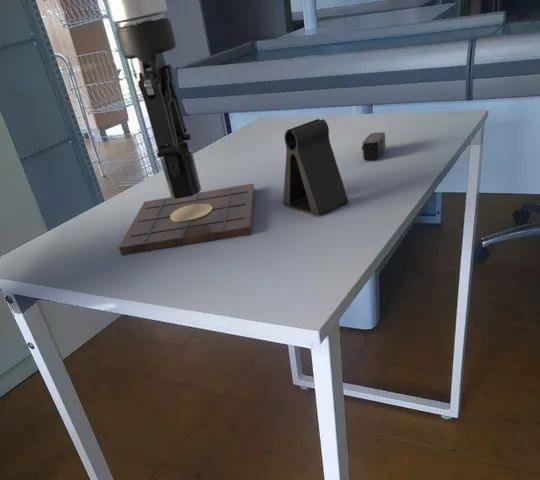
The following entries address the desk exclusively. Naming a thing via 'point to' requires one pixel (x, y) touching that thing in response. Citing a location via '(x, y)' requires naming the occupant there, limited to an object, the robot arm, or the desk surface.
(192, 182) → the dark grey canister
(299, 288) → the desk surface
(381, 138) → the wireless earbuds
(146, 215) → the grid board
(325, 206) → the black triangular stand
